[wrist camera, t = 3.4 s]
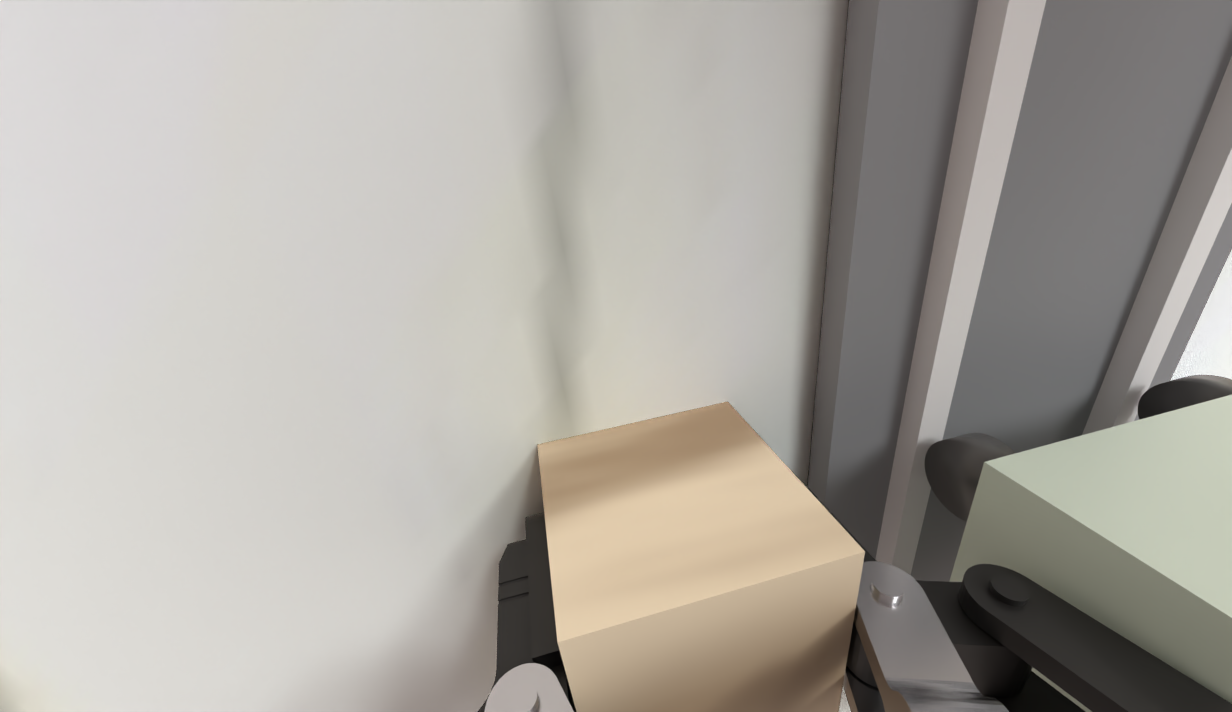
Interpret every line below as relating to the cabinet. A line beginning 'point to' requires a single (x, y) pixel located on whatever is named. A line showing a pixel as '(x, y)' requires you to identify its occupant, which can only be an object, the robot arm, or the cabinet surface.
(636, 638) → the block
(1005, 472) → the mint green tray
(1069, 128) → the track
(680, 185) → the cabinet surface
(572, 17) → the cabinet surface
